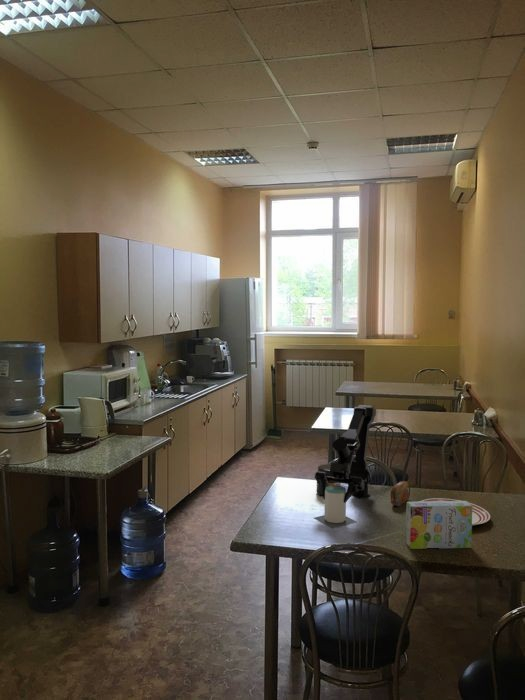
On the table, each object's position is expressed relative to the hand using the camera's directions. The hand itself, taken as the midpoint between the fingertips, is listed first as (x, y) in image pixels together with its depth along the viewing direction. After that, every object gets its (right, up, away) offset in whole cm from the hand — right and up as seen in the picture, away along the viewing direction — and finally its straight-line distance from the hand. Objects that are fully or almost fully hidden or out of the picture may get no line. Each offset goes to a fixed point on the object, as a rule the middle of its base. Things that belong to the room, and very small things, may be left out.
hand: (334, 500), depth 213 cm
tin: (+30, -7, +22) cm, 38 cm away
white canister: (+1, -8, +2) cm, 8 cm away
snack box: (+33, -10, -19) cm, 40 cm away
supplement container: (+2, -6, +33) cm, 33 cm away
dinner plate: (+47, -9, +7) cm, 48 cm away
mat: (+1, -8, +2) cm, 9 cm away
